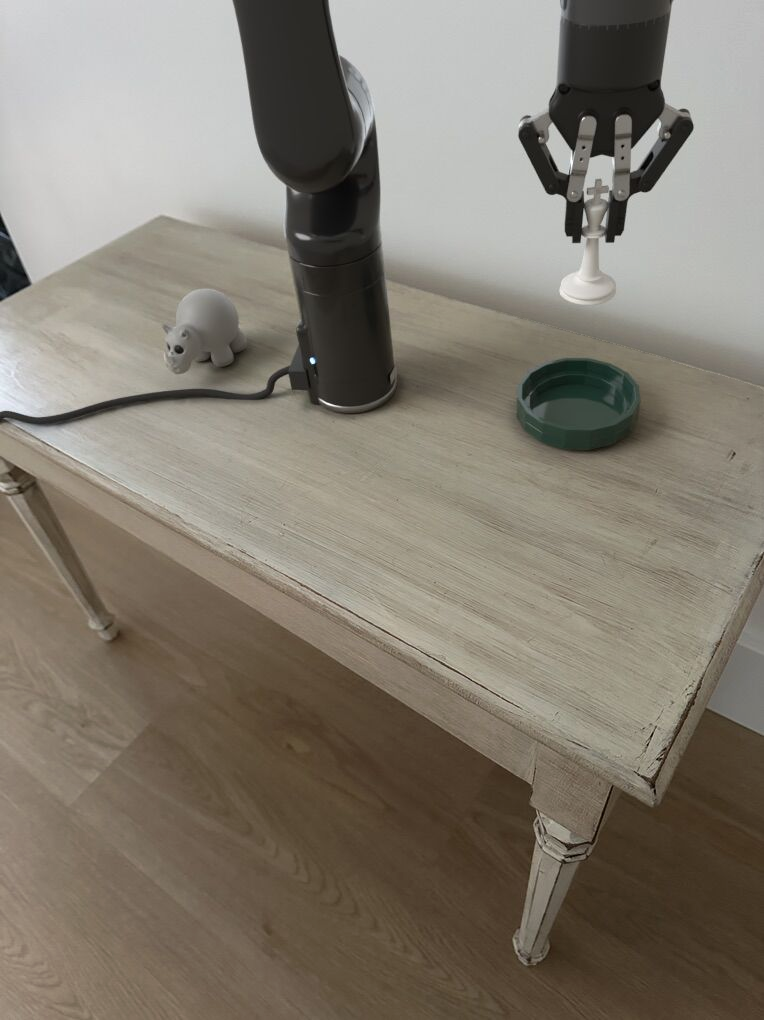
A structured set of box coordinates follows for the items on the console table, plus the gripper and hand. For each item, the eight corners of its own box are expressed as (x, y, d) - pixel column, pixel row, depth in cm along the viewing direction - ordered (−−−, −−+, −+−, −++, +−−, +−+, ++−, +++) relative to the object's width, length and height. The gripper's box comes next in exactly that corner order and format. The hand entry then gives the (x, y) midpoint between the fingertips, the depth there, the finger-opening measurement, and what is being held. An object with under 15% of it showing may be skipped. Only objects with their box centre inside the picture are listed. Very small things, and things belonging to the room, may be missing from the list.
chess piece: (553, 281, 73) (561, 171, 66) (607, 274, 73) (620, 164, 66) (566, 308, 69) (576, 196, 62) (622, 301, 69) (638, 188, 62)
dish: (514, 451, 79) (515, 428, 77) (518, 380, 87) (519, 357, 85) (640, 455, 77) (644, 431, 75) (631, 381, 85) (635, 358, 83)
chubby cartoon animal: (151, 388, 93) (128, 325, 87) (211, 334, 100) (193, 272, 94) (200, 401, 90) (180, 337, 84) (258, 344, 97) (243, 281, 91)
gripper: (713, -16, 57) (673, 217, 69) (517, -3, 59) (512, 220, 71) (728, 13, 51) (682, 259, 64) (513, 26, 54) (508, 261, 66)
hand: (592, 238), depth 67 cm, fingers closed on chess piece
